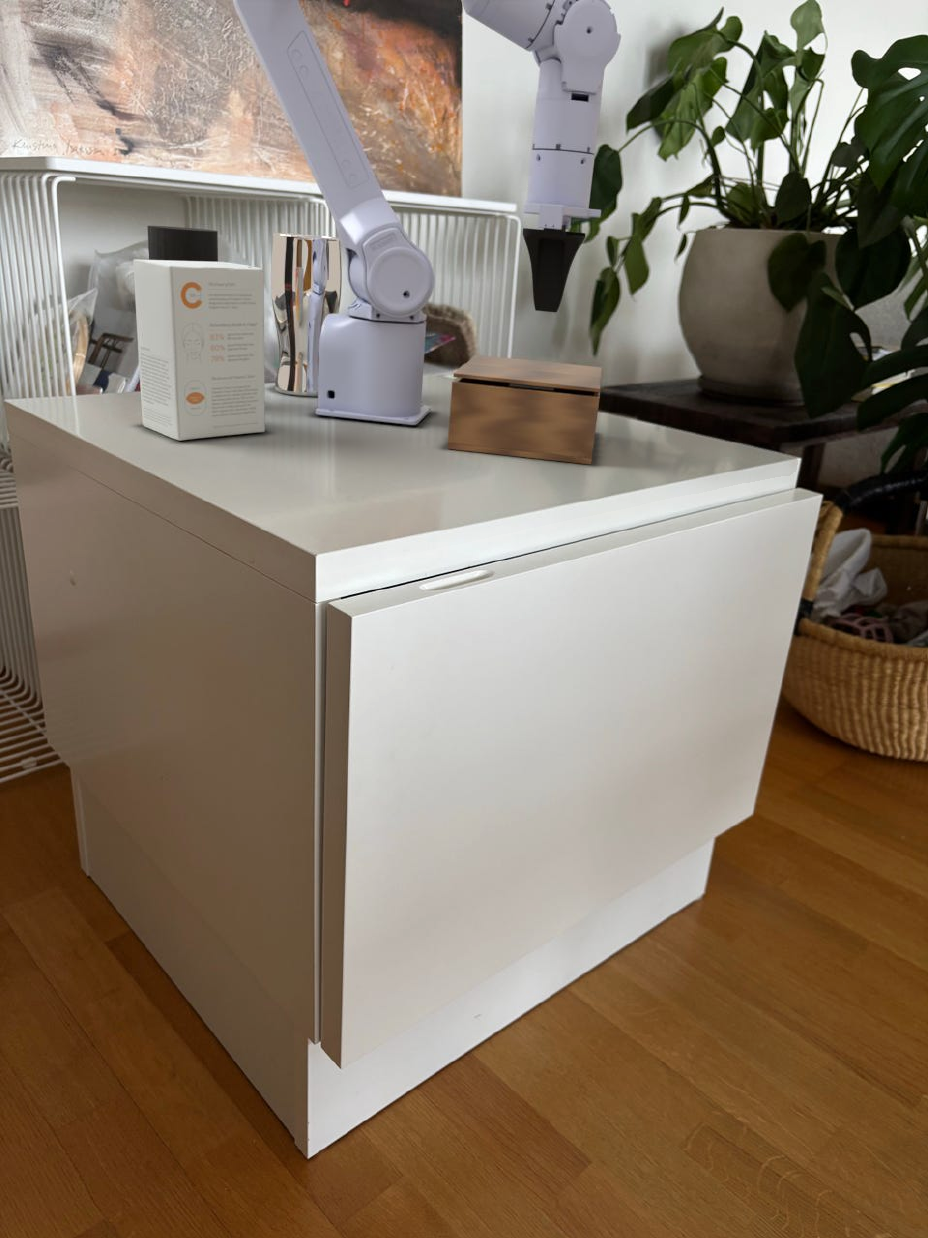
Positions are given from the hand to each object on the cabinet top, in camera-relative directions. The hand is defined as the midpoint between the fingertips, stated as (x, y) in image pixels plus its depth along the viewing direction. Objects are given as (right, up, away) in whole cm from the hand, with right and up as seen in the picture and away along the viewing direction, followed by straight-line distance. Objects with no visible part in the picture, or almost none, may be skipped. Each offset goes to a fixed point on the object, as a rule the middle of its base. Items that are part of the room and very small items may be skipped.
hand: (546, 310), depth 92 cm
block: (-2, -12, -3) cm, 12 cm away
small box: (-29, -14, -12) cm, 34 cm away
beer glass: (-24, -6, +8) cm, 26 cm away
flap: (-1, -7, -5) cm, 9 cm away
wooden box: (-2, -13, -6) cm, 15 cm away
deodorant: (-34, -9, -1) cm, 35 cm away
